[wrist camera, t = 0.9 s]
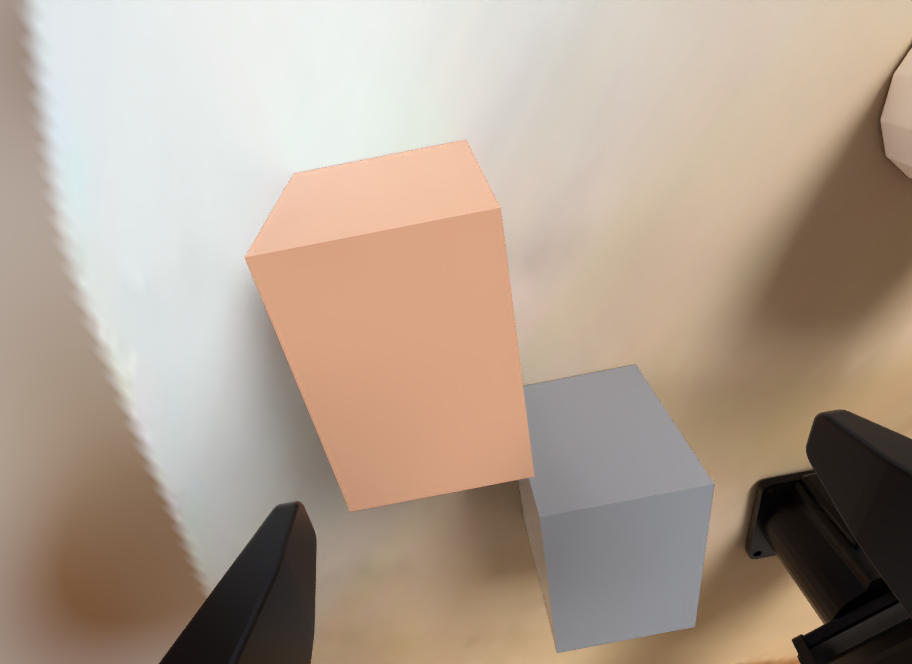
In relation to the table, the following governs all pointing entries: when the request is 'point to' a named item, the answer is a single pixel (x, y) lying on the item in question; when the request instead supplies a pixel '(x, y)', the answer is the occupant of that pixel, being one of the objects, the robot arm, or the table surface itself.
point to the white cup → (899, 118)
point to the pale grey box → (613, 510)
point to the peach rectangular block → (399, 323)
